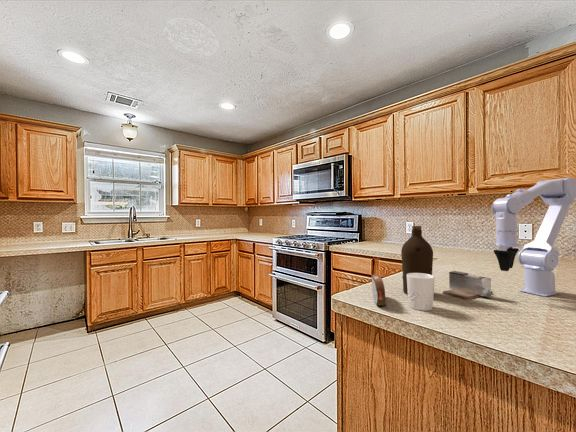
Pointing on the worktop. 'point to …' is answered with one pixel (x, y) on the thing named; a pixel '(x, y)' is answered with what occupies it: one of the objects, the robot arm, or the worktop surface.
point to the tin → (378, 290)
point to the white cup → (420, 291)
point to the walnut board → (461, 294)
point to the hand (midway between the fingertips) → (506, 269)
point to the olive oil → (416, 256)
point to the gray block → (470, 283)
